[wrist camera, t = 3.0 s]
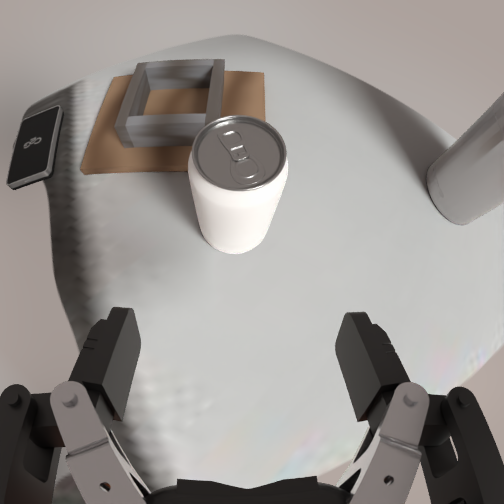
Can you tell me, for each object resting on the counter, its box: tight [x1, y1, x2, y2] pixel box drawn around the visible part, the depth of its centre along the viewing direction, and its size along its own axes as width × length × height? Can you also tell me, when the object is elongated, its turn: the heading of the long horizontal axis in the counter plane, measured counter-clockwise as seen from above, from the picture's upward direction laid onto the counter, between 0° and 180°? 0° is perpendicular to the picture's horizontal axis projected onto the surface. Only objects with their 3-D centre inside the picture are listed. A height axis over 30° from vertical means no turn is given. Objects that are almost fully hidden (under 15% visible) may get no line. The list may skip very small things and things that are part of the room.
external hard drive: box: [6, 105, 64, 190], centre depth 28 cm, size 7×11×2 cm, turn 12°
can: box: [188, 115, 288, 254], centre depth 23 cm, size 6×6×12 cm
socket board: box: [80, 59, 265, 175], centre depth 29 cm, size 20×15×5 cm
